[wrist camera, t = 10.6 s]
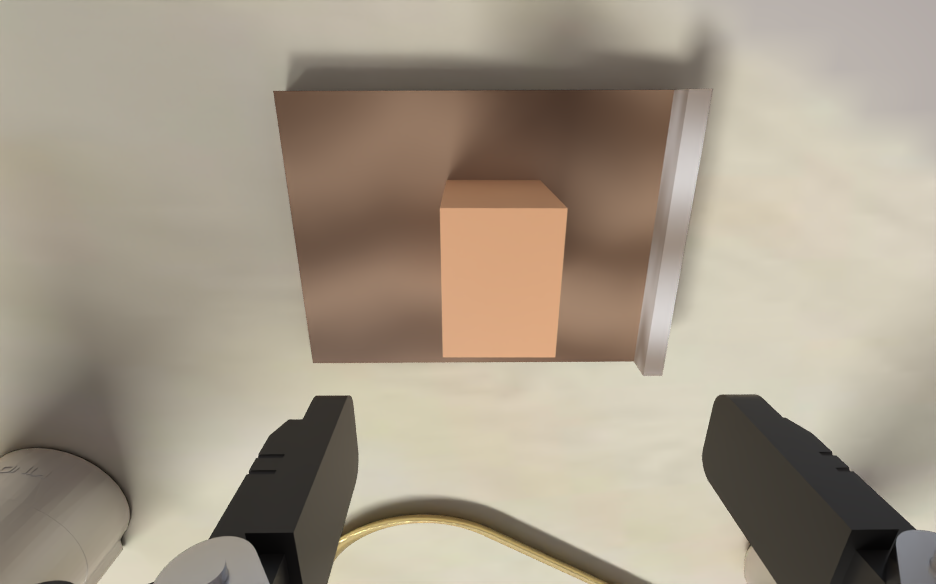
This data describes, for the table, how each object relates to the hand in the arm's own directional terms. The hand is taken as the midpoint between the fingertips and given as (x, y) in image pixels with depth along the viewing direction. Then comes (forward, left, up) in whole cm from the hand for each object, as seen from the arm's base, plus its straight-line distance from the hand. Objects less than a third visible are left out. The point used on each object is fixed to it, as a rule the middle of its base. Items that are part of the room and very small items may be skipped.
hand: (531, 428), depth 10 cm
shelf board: (0, +1, -16) cm, 16 cm away
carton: (0, 0, -14) cm, 14 cm away
